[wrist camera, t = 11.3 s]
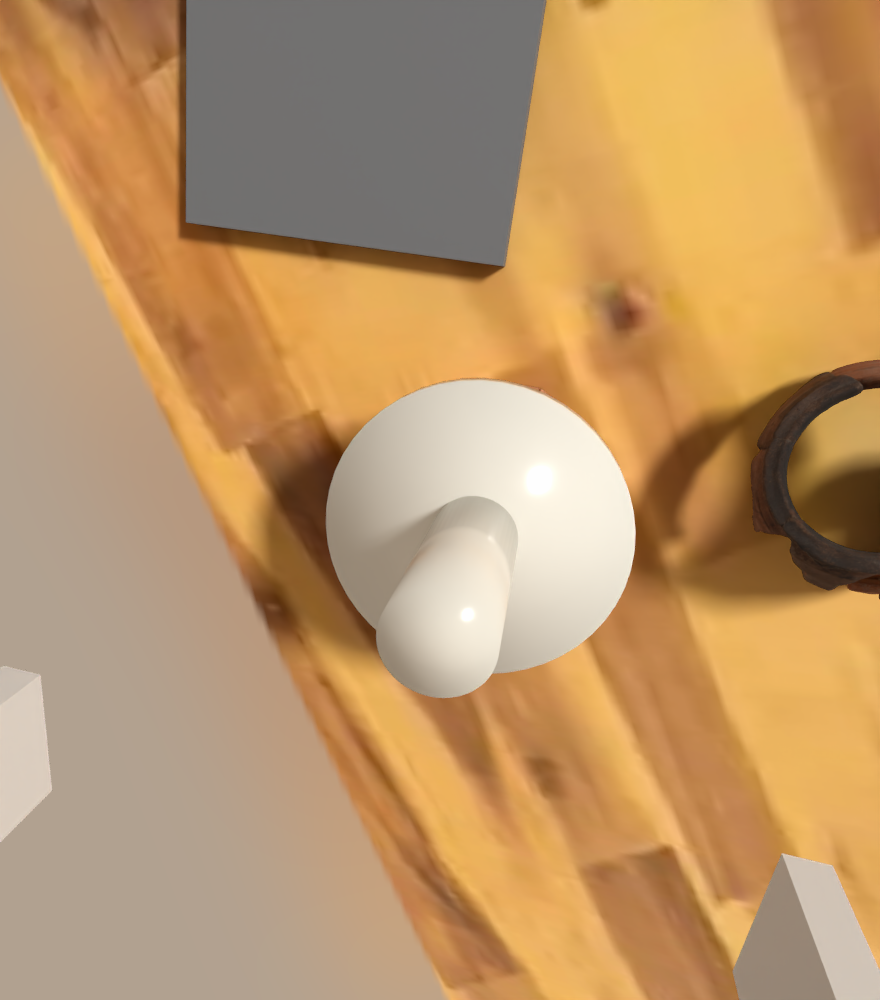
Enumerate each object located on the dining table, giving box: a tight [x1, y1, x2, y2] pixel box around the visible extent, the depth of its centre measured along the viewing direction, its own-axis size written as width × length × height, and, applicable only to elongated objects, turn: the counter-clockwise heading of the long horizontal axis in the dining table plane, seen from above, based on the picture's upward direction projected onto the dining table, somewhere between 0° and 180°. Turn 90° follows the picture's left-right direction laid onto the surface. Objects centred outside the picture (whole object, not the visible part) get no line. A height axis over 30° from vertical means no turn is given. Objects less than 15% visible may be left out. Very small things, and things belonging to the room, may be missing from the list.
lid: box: [326, 378, 636, 698], centre depth 22 cm, size 12×12×9 cm
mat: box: [186, 0, 546, 267], centre depth 26 cm, size 14×14×1 cm
